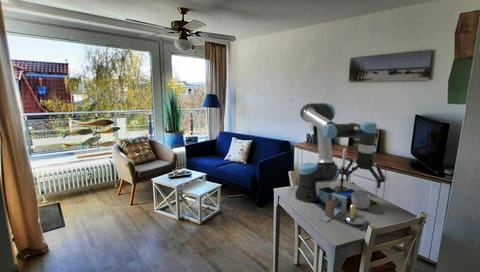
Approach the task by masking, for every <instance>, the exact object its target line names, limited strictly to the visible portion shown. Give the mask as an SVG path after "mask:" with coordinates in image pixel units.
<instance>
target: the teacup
mask: <svg viewBox="0 0 480 272" xmlns="http://www.w3.org/2000/svg"><path fill="white" fill-rule="evenodd" d="M350 198H351V204H355V205H356V209H358V210H364V209H367V208H369V207H370V203H371V195H370V194H368V193H367V192H363V191H362V192H361V191H358V190H354V191H353V192H352V193H351V197H350Z"/></svg>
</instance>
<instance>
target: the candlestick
mask: <svg viewBox="0 0 480 272" xmlns="http://www.w3.org/2000/svg"><path fill="white" fill-rule="evenodd" d="M343 147H344V148H343V150H342V161H341V166H340V168H339V171H340V172H339V175H341V177H340V179H339V180H340V181H339V183H340V185H336V186H334V190H336V191H338V193H347V192H349V188H347V186H346V187H345V186H343V185H344V181H345V179H344V176H346V175H345V174H343V172H344V170H345V169H346V168H347V166H346V167H345V165H346V156H347V154H346V153H347V148H346V147H347V144H345V145H344V146H343ZM349 171H350V170H349V169H348V171H347V173H348V172H349Z"/></svg>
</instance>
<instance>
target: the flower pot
mask: <svg viewBox="0 0 480 272" xmlns="http://www.w3.org/2000/svg"><path fill="white" fill-rule="evenodd" d="M334 193H335V194H338V195H339V191H336V190H335V188H333V187H330V186H326V187H325V186H324V187H321V188H318V198H319V200H320V201H321V203H323V204H324V205H326V200H327V199H332V194H334Z"/></svg>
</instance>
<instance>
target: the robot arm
mask: <svg viewBox="0 0 480 272" xmlns="http://www.w3.org/2000/svg"><path fill="white" fill-rule="evenodd" d="M335 110H336V109H335V107H334V105H332V104H331V103H325V102H323V103H322V102H320V103H319V102H317V103H313V102H312V103H310V102H309V103H307V104H304V105H303V106H302V108H301V109H300V112H299V113H300V114H299V115H300V117H301V119H302V120H303V121H304V122H305V123H310V124H312V125H313V126H314V127H316V130H317V131H316V133H317V134H316V135H317V146H318V148H317V149H318V161H317V162H316V163H315V162H305V163H302V164H300V166H299V170H298V183H297V184H298V186H297V187H296V188H297V189H296V191H295V193H294V194H295V195H294V197H295V198H296V199H297V200H299V201H300V202H301V201H302V202H305V203H307V202H308V203H313V202H316V201H318V200H319V192H318V189H317V183H331V182H336V181H337V180H338V179H339V177H340V174H339V172H340V171H339V169H340V168H339V165H338V164H336V161H335V160H334V159H333V149H332V139H340V138H343V139H344V138H355V139H356V138H357V139H358V147H357V157H356V158H357V159H354V157H353V158H351V159H350V161H349V163H348V165H347V166H346V168H345V170H344V172H343V174H345V175H344V176H345V182H347V185H346V188H347V189H349V188H350V187H351V179H352V178H351V174H352V173H354V172H355V171H356V170H358V169H360V170H365V171H367V170H368V171H369V172H370V173H371V175H372V176H373V177H374V178H375V180H376V182H375V190H374V195H377V194H378V189H380V188H381V184H382V183H385V182H386V178H385V175H384V173H383V171H382V169H381V163H380V162H379V161H378V162H374V155H375V154H374V152H375V147H376V137H377V132H378V130H377V129H378V128H377V127H378V126H377V123H376V122H371V121H362V122H361V123H360V124H359V123H356V122H348V123H336V122H334V121H333V120H334V118H335V116H336V111H335ZM354 163H356V165H355V166H354V167H353V168H351V167H352V166H353V164H354ZM373 166H374V167H375V168H376V170H377V172H376V171H375V169H374V168H373ZM350 168H351V170H349V169H350ZM348 170H349V172H348V173H347V171H348Z"/></svg>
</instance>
